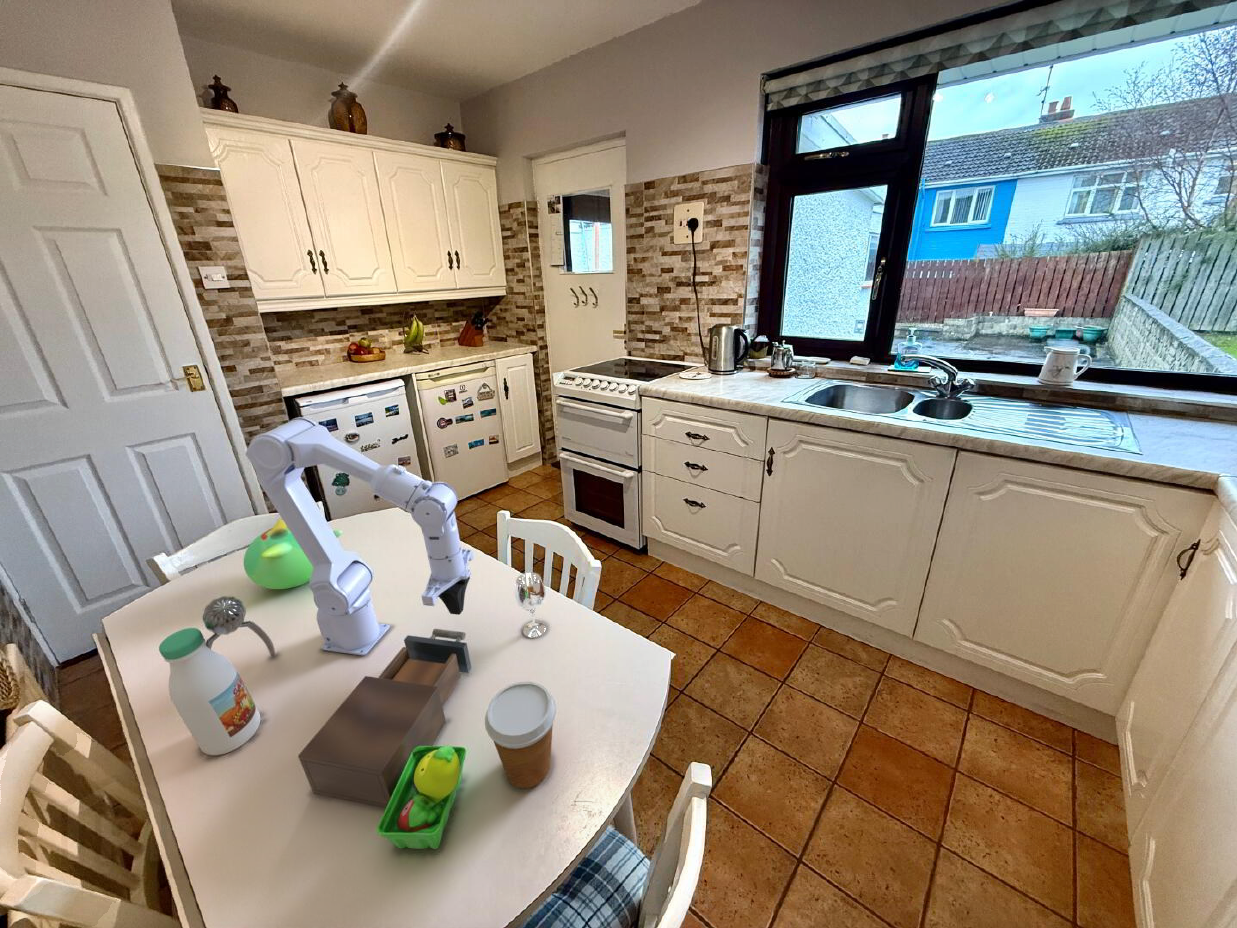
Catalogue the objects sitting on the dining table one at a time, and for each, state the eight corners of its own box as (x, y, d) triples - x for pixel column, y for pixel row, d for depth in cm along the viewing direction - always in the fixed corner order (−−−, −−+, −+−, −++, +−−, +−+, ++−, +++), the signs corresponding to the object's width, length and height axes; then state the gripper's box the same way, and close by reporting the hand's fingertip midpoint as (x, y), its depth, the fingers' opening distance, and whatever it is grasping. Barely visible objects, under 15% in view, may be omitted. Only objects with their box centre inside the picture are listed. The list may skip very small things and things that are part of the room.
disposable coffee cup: (502, 812, 64) (490, 750, 59) (489, 751, 72) (478, 692, 68) (570, 783, 68) (564, 721, 63) (551, 727, 76) (544, 669, 71)
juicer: (275, 655, 91) (279, 608, 70) (201, 691, 84) (181, 651, 63) (254, 610, 93) (251, 552, 72) (179, 641, 85) (152, 586, 65)
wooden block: (394, 695, 80) (390, 681, 79) (411, 671, 84) (408, 658, 83) (435, 701, 78) (432, 687, 77) (451, 677, 83) (448, 664, 82)
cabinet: (376, 710, 79) (365, 675, 76) (446, 721, 77) (438, 686, 74) (313, 793, 67) (297, 755, 64) (394, 809, 65) (382, 771, 62)
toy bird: (324, 550, 125) (308, 500, 119) (358, 572, 115) (343, 518, 110) (243, 587, 111) (221, 531, 106) (274, 614, 102) (252, 556, 96)
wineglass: (543, 641, 93) (537, 590, 88) (515, 638, 94) (507, 587, 89) (552, 621, 98) (547, 572, 93) (526, 618, 99) (519, 569, 94)
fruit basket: (420, 769, 70) (405, 713, 66) (481, 770, 70) (469, 713, 65) (383, 859, 59) (361, 800, 55) (454, 860, 59) (438, 801, 55)
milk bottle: (215, 766, 71) (155, 669, 63) (193, 741, 75) (133, 646, 66) (271, 725, 77) (223, 631, 68) (248, 703, 81) (199, 611, 72)
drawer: (426, 643, 92) (420, 619, 90) (482, 650, 90) (477, 625, 88) (368, 718, 77) (360, 692, 75) (434, 729, 75) (427, 702, 73)
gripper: (443, 577, 79) (457, 641, 84) (483, 531, 92) (492, 589, 97) (404, 573, 80) (420, 637, 85) (449, 528, 93) (460, 586, 98)
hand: (456, 611), depth 91 cm, fingers closed
